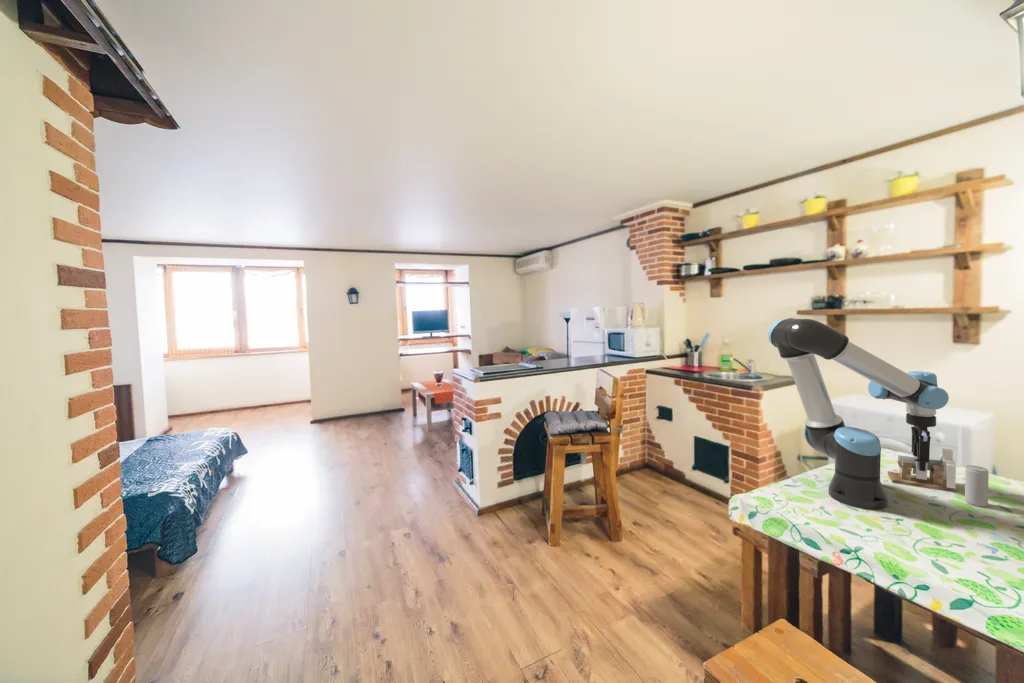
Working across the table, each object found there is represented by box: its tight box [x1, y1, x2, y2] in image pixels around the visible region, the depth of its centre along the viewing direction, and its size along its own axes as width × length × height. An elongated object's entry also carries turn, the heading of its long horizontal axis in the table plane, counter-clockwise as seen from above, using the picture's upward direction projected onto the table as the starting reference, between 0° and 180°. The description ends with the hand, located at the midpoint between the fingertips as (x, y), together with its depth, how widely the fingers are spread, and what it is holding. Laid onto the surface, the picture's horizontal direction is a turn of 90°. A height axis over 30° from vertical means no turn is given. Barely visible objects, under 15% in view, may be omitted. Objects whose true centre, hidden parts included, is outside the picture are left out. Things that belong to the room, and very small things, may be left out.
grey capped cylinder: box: [896, 454, 944, 472], centre depth 141 cm, size 12×4×4 cm, turn 54°
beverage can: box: [964, 464, 990, 508], centre depth 125 cm, size 5×5×12 cm
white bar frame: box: [939, 448, 957, 489], centre depth 137 cm, size 2×9×12 cm, turn 143°
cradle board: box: [887, 461, 958, 493], centre depth 141 cm, size 16×9×8 cm, turn 54°
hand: (919, 476), depth 142 cm, fingers closed on grey capped cylinder, 4 cm apart
